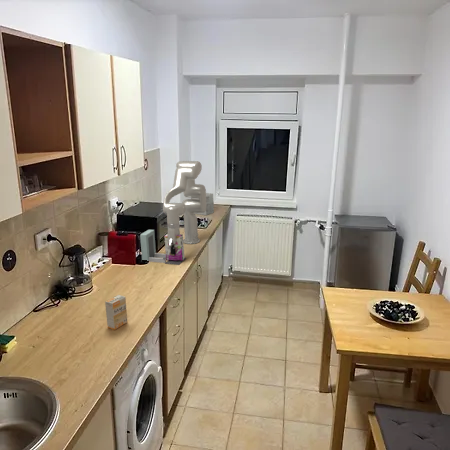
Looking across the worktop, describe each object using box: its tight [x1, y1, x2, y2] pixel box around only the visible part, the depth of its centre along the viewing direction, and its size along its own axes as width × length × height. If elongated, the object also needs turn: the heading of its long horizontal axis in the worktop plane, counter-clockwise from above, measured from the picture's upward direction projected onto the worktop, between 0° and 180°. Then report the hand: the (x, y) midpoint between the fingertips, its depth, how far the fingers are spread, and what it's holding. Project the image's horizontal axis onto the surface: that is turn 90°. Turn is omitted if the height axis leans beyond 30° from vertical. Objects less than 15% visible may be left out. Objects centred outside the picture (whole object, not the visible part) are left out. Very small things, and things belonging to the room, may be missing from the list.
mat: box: [164, 257, 187, 266], centre depth 264 cm, size 12×10×1 cm
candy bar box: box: [163, 233, 186, 261], centre depth 262 cm, size 11×5×16 cm, turn 82°
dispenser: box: [139, 229, 167, 264], centre depth 266 cm, size 12×16×18 cm
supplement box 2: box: [190, 192, 215, 216], centre depth 382 cm, size 17×13×18 cm
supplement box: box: [104, 294, 128, 331], centre depth 185 cm, size 8×5×13 cm, turn 148°
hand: (175, 252), depth 263 cm, fingers closed on candy bar box, 5 cm apart
